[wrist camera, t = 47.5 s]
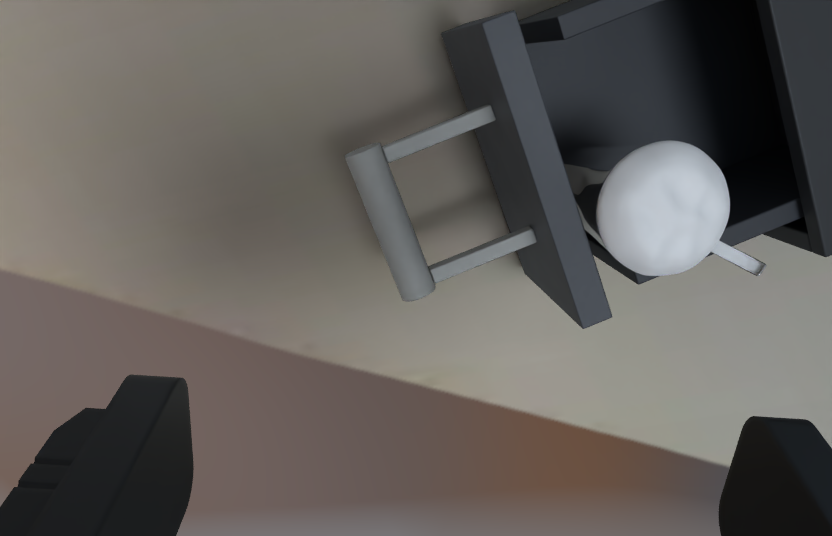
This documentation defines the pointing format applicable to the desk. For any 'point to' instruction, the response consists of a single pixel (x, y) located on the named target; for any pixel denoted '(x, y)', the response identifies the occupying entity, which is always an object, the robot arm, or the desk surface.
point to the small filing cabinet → (804, 110)
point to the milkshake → (654, 205)
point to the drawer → (593, 131)
